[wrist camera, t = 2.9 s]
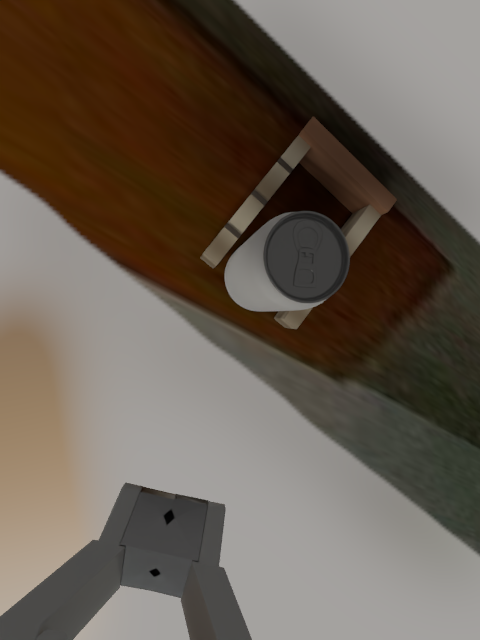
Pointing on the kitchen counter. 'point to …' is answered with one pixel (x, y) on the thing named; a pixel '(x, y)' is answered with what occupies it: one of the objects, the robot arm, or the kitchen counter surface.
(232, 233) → the wooden rack
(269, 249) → the can
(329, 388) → the kitchen counter surface
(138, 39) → the kitchen counter surface
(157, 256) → the kitchen counter surface
